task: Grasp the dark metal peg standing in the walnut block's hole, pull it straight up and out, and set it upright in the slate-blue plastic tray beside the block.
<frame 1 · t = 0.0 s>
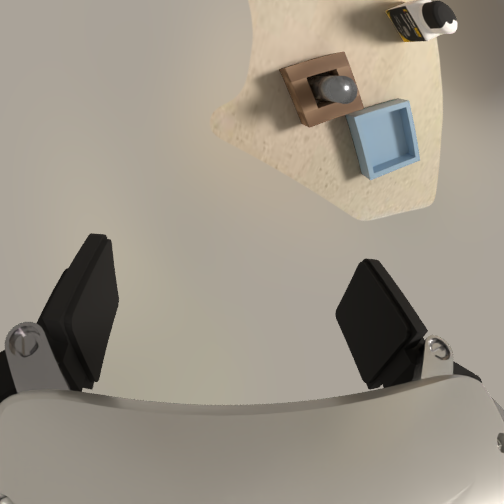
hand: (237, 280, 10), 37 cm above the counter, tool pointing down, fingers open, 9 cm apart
hole block: (318, 87, 38), on the counter
peg: (329, 88, 34), in the hole block
medicine bottle: (404, 21, 30), on the counter
tray: (380, 135, 44), on the counter
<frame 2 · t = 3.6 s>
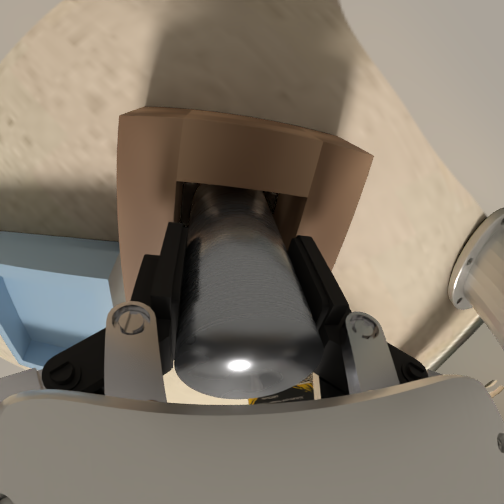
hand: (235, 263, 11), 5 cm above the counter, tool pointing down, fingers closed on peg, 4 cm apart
hole block: (228, 205, 15), on the counter
peg: (235, 258, 11), in the hole block, touching gripper
medicine bottle: (278, 397, 29), on the counter
tray: (62, 301, 17), on the counter
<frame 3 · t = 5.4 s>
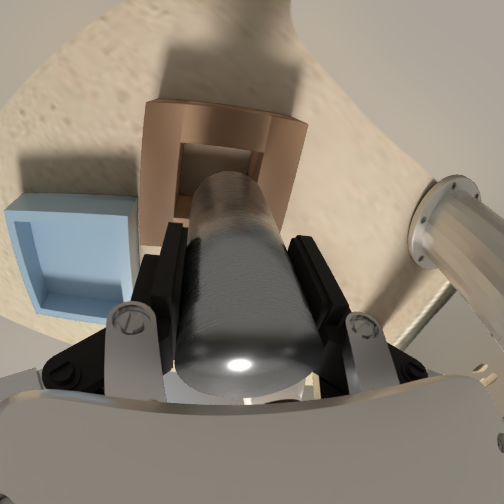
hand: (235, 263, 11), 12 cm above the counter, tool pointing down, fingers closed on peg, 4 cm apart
hole block: (215, 167, 21), on the counter
peg: (235, 258, 11), point 12 cm above the counter, touching gripper
medicine bottle: (263, 350, 35), on the counter
tray: (81, 252, 23), on the counter
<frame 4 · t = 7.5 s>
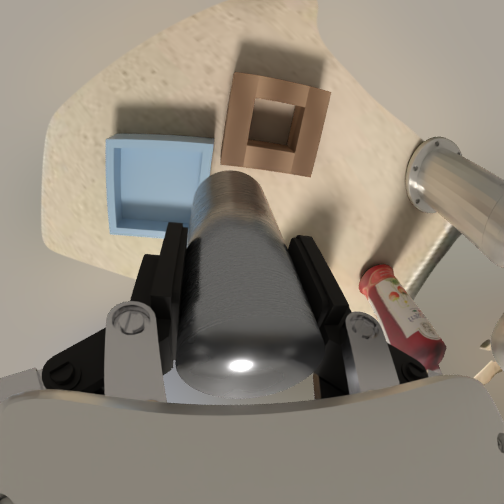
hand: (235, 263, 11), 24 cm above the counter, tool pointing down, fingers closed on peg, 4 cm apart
hole block: (269, 121, 29), on the counter
peg: (236, 257, 11), point 24 cm above the counter, touching gripper
tray: (160, 181, 32), on the counter
liquor: (373, 275, 45), on the counter
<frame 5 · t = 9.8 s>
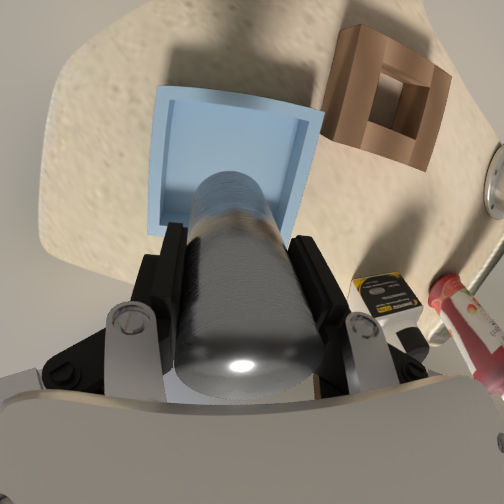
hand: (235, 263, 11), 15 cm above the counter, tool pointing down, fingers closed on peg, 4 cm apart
hole block: (376, 97, 20), on the counter
peg: (235, 258, 11), point 14 cm above the counter, touching gripper
medicine bottle: (369, 293, 35), on the counter
tray: (227, 160, 23), on the counter
liquor: (439, 285, 36), on the counter
when the fingers open (7 cm above the counter, at t = 11.5 s): peg stays where it is, resting on tray.
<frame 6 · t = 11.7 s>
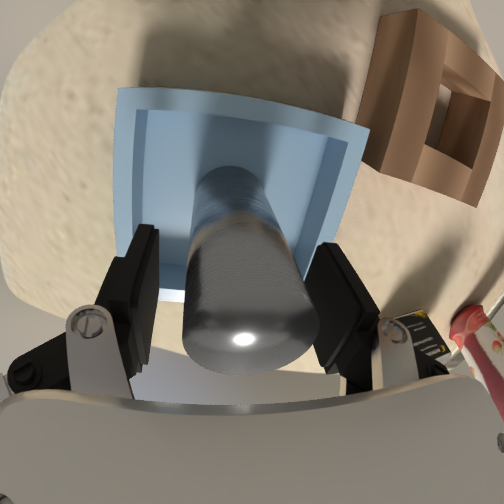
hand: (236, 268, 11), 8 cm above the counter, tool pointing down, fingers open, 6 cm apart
hole block: (423, 107, 14), on the counter
peg: (236, 245, 12), in the tray, point 6 cm above the counter
medicine bottle: (390, 333, 29), on the counter
tray: (226, 192, 17), on the counter
liquor: (461, 315, 31), on the counter
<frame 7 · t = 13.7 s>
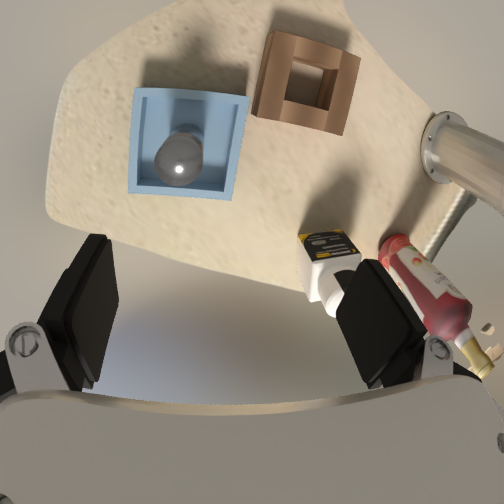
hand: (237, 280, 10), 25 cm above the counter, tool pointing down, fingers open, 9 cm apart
hole block: (300, 83, 28), on the counter
peg: (183, 149, 25), in the tray, point 6 cm above the counter
medicine bottle: (318, 250, 42), on the counter
tray: (186, 138, 30), on the counter
liquor: (390, 246, 44), on the counter
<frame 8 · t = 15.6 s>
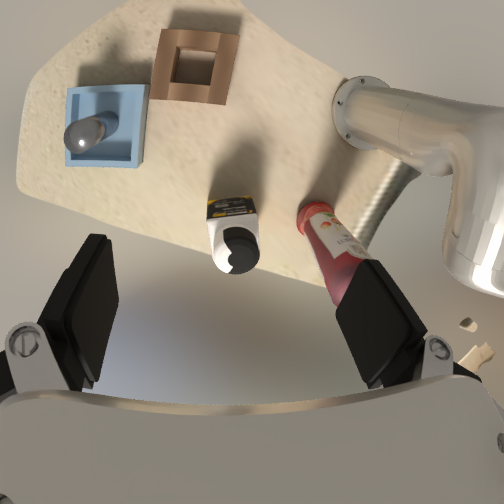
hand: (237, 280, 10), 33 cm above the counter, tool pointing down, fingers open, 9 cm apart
hole block: (195, 67, 31), on the counter
peg: (93, 129, 29), in the tray, point 6 cm above the counter
medicine bottle: (231, 216, 46), on the counter
tray: (108, 122, 34), on the counter
liquor: (313, 215, 48), on the counter
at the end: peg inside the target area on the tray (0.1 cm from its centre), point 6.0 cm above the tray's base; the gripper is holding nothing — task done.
